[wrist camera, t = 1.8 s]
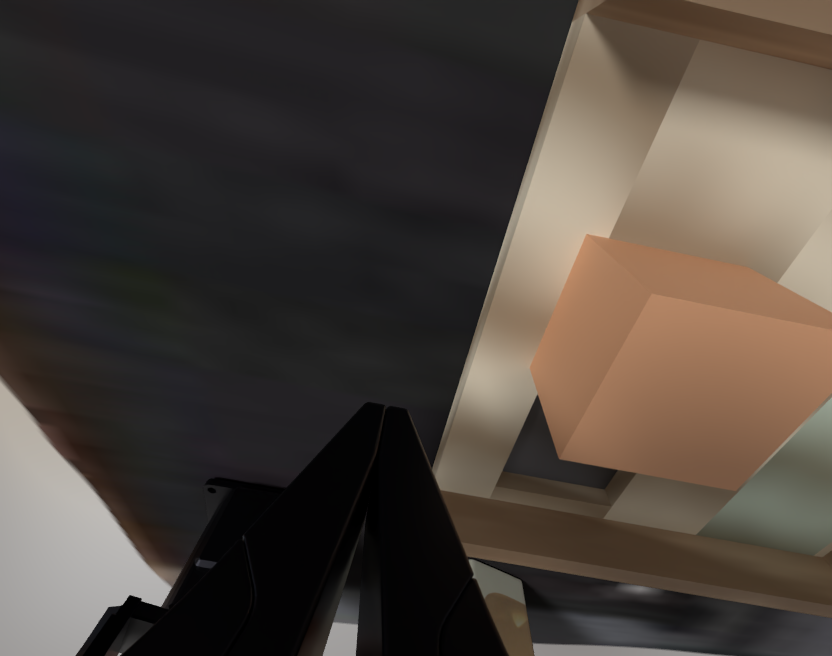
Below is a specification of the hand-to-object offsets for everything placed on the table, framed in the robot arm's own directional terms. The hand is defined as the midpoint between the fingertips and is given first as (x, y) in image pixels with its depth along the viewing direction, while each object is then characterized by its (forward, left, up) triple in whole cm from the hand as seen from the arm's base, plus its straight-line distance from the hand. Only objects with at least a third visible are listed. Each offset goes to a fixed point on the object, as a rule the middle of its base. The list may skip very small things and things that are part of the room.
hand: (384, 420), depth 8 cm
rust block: (0, -8, -7) cm, 11 cm away
